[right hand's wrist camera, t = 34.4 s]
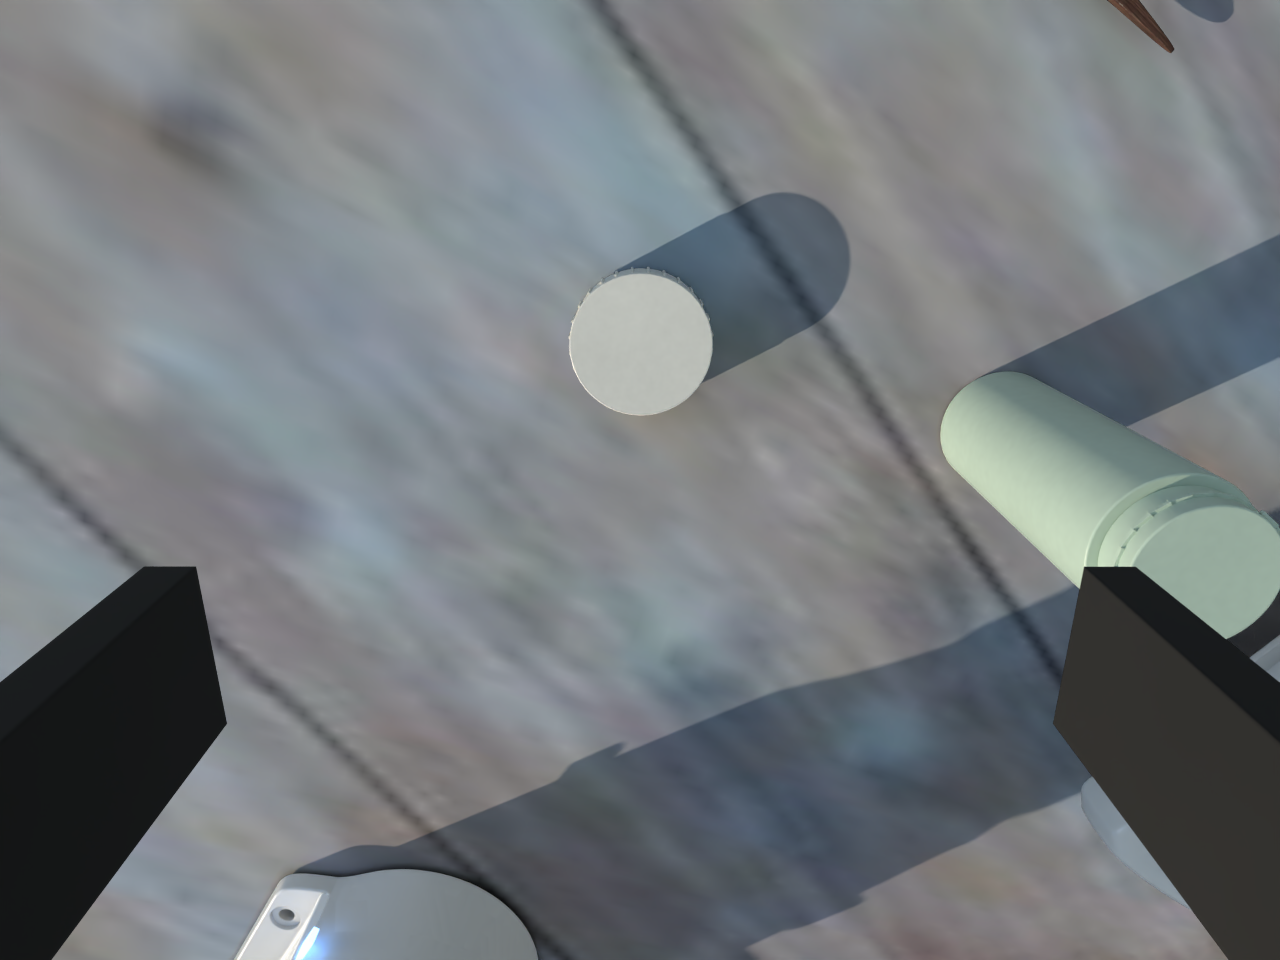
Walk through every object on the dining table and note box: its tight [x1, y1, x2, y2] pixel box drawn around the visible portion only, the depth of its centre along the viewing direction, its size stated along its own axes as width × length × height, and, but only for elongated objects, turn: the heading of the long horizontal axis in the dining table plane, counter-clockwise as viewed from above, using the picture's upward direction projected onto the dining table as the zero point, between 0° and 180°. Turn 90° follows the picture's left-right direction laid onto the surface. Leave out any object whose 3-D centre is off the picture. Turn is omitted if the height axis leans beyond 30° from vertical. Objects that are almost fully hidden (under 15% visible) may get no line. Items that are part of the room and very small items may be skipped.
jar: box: [940, 371, 1280, 639], centre depth 32 cm, size 5×5×15 cm
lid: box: [569, 267, 714, 415], centre depth 37 cm, size 6×6×2 cm
